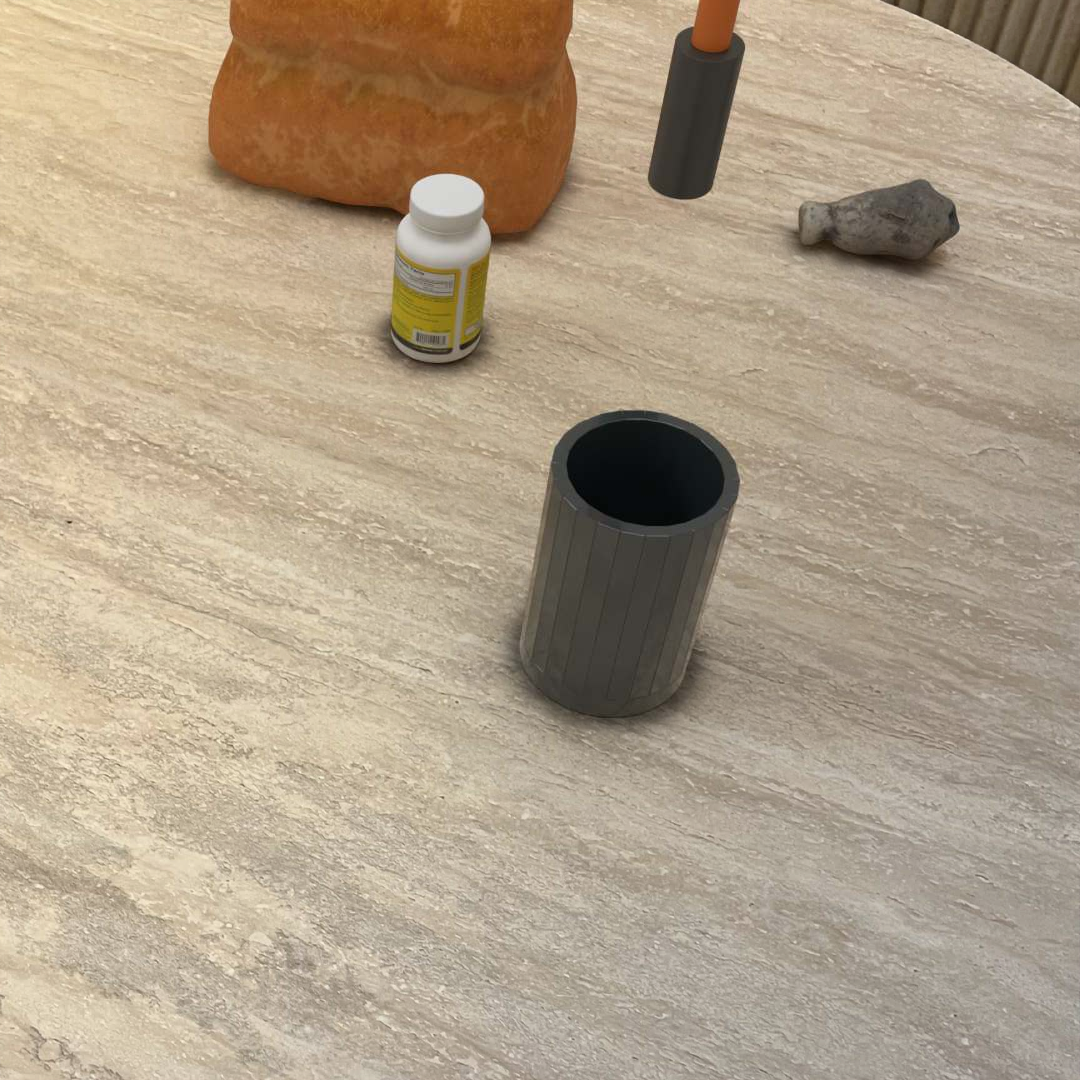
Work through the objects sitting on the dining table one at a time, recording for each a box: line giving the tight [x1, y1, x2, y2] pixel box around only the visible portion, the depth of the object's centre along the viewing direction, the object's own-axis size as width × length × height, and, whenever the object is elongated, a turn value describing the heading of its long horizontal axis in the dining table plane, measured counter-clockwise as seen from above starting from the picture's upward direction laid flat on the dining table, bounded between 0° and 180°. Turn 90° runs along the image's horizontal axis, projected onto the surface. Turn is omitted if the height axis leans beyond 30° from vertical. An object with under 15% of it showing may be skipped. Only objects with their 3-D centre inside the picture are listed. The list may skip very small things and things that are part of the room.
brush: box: [647, 0, 746, 201], centre depth 86 cm, size 4×4×20 cm
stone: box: [797, 178, 961, 262], centre depth 120 cm, size 10×5×8 cm
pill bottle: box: [390, 174, 492, 364], centre depth 111 cm, size 6×6×11 cm
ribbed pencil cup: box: [518, 409, 741, 718], centre depth 93 cm, size 10×10×14 cm
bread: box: [207, 0, 578, 236], centre depth 122 cm, size 16×26×17 cm, turn 70°
